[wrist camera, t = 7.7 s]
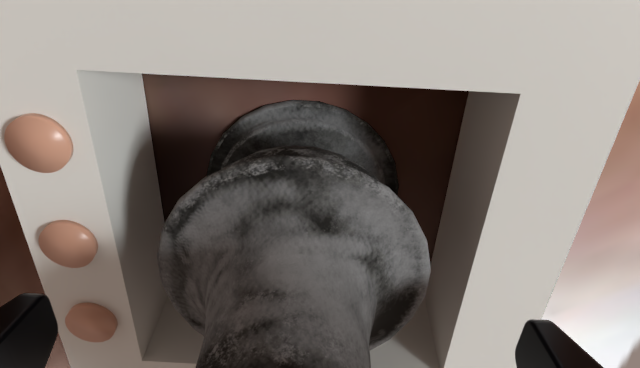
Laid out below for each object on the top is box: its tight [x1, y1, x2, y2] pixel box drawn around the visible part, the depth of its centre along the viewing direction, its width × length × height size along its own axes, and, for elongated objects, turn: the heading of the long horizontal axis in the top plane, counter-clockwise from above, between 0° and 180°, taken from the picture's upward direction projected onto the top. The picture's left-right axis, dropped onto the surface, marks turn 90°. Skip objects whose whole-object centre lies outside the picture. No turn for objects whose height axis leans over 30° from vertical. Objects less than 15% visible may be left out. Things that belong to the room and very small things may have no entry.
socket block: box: [0, 0, 640, 368], centre depth 12 cm, size 12×12×3 cm
